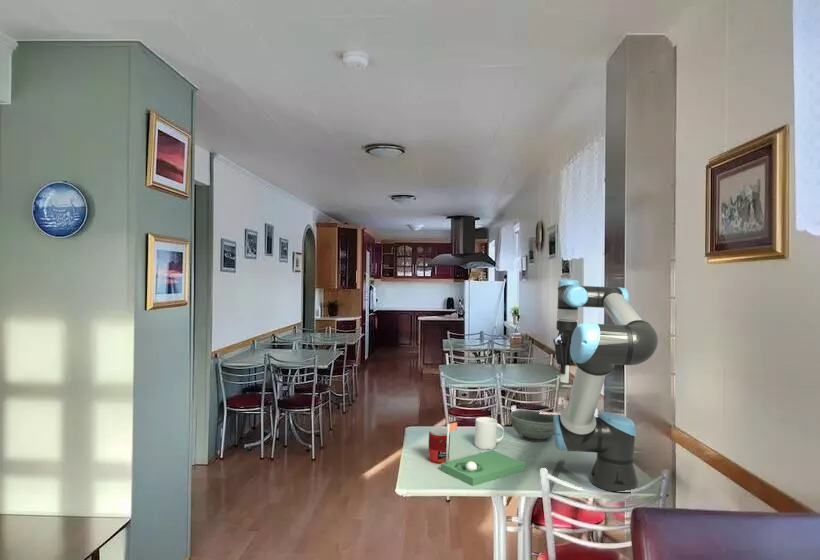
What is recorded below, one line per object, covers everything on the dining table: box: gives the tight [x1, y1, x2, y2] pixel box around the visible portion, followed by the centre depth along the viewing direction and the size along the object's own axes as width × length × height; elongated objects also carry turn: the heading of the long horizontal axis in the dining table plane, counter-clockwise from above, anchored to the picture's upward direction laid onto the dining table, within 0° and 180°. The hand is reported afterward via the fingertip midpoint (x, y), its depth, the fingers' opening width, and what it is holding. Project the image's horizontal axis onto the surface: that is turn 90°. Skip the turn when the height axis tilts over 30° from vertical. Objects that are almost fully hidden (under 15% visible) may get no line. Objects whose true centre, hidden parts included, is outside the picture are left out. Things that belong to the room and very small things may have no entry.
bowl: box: [509, 409, 555, 442], centre depth 227 cm, size 21×21×10 cm
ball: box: [466, 461, 477, 470], centre depth 184 cm, size 4×4×4 cm
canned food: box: [427, 427, 451, 465], centre depth 196 cm, size 8×8×11 cm
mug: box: [474, 416, 505, 450], centre depth 214 cm, size 9×12×11 cm
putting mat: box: [440, 422, 526, 487], centre depth 188 cm, size 16×26×16 cm, turn 128°
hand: (564, 382), depth 202 cm, fingers closed
